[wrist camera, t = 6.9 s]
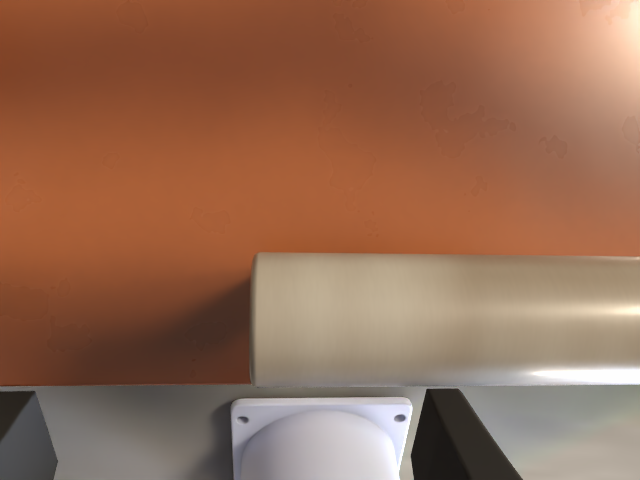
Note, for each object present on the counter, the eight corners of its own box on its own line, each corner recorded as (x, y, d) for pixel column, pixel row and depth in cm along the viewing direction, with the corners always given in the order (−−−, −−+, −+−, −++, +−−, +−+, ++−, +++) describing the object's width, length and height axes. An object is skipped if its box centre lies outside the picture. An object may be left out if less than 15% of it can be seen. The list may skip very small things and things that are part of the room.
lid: (761, 373, 12) (1098, 478, 7) (-32, 377, 10) (-292, 511, 6) (783, -144, 11) (1154, -409, 7) (-36, -204, 10) (-315, -588, 5)
